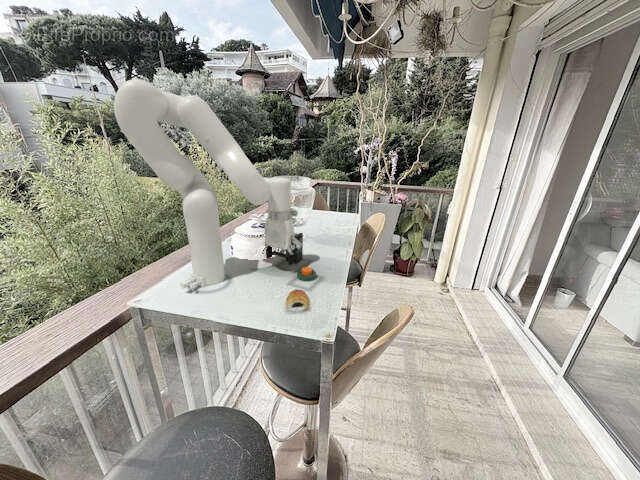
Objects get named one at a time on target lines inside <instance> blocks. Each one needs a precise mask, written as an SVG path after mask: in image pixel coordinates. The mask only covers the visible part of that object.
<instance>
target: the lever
mask: <svg viewBox="0 0 640 480" xmlns="http://www.w3.org/2000/svg"><path fill="white" fill-rule="evenodd" d="M297 234H298V233H296V232H294V236H295V235H297ZM286 250H287V249H286ZM286 250H284V249H280V250H279V251H276V250H273V252H272V255H273V256H276V257H280V258H284V259H286V258H287V257H288V254H286Z"/></svg>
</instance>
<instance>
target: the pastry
mask: <svg viewBox="0 0 640 480" xmlns="http://www.w3.org/2000/svg"><path fill="white" fill-rule="evenodd" d="M309 306H310V298H309V296H308V295H307V293H306V292H305V290H302V289H297V288H296V289H293V290H292V291H290V292H289V293H288V295H287V297H286V308H288V309H294V308H298V307H299V308H300V307H302V308H304V309H303V311H306V310H307V309H308V308H309Z"/></svg>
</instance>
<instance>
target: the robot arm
mask: <svg viewBox="0 0 640 480" xmlns="http://www.w3.org/2000/svg"><path fill="white" fill-rule="evenodd" d="M113 111H114V116H115V120H116V122H117V124H118V126H119V129H120V131H121V132H122V133H123V134H124V136H125V138H126V139H127V140H128V142H129V143H130V144H131V145H132V146H133V147H134V149H135V150H136V151H137V153H138V154H139V155H140V156H141V158H142V159H143V161H144V162H146V164H147V165H148V166H149V168H151V170H152V171H153V172H154V174H155V175H156V177H158V179H159V180H160V181H161V183H163V185H165V186H166V187H168V188H169V189H172V190H176V192H178V193H179V195H180V196H181V198H183V199H182V214H183V219H184V223H185V229H186V235H187V241H188V247H189V255H190V260H191V268H192V273H190V274H189V275H190V277H188V279H187V280H185V281H182V282H180V283H179V286H180V288H181V289H185V288H188V287H189V288H190V289H192V290H193V291H196V292H198V290H197V289H194V288H195V287H197V286H198V287H200V288H205V287H209V286H214V285H218V284H220V283H222V282H224V280H225V278H226V272H225V263H224V253H223V243H222V234H221V225H220V214H219V213H220V212H219V200H218V195H217V193H216V190H215V189H214V187H212V185H211V184H210V182H209V181H208V180H207V178H206V177H205V175H204V174H203V173H202V171H201V170H200V169H199V167H198V166H197V165H196V163H195V162H194V161H193V160H192V159H191V158H190V157H188V156H187V155H185V154H183V153H181V152H180V150H178V149H177V147H176V145H174V143H173V142H172V141H171V139H170V137H169V136H168V134H167V133H166V132H165V131H164V130H163V128H162V127H161V126H160V124H159V123H158V122H160V123H163V124H168V125H171V126H176V127H179V128H185V129H187V130H188V131H189V133H190V134H191V135H192V137H194V139H195V140H196V141H197V142H198V143H199V144H200V146H201V147H202V148H203V149H204V150H205V152H206V153H207V154H208V155H209V157H210V158H211V159H212V160H213V161H214V162H215V164H216V165H217V167H219V168H220V169H221V170H222V171H223V172H224V173H225V174H226V176H227V177H228V179H229V180H230V181H232V183H233V185H235V186H236V188H237V189H238V190H239V191H240V192H241V194H242V195H243V196H244V197H245V198H246V199H247V201H248V202H249V203H251V204H253V205H256V206H261V205H264V204H266V203H267V209H266V210H265V212H266V213H267V214H268V216H267V217H266V220H265V224H264V225H265V226H264V232H263V233H264V234H265V246H266V248H267V249H266V248H265V258H266V259H267V260H269V259H271V258H273V257H272V247H273V248H277V249H280V250H282V249H284V250H286V249H287V250H288V252H289V253H290V254H289V255H288V262H287V263H288V266H291V265H293V264H294V262H295V253H296V252H297V251H298V250H299V249H300V247H301V246H302V243H301V242H300V241H298V240H297V239H296V238H295V237H294V233H295V226H294V221H293V219H292V210H291V209H292V201H291V200H292V199H291V198H292V196H291V195H292V194H291V193H292V191H291V190H292V184H291V180H290V179H289V178H288V177H286V176H285V177H284V176H272V177H265V176H262V175H261V173H260V172H259V171H258V169H257V168H256V167H255V165H253V163H252V162H251V160H250V159H249V158H248V157H247V155H246V154H245V152H244V150H243V149H242V148H241V146H240V144H239V143H238V142H237V140H236V139H235V138H234V137H233V136H232V134H231V133H230V132H229V130H228V129H227V128H226V126H225V125H224V123H223V122H222V121H221V120H220V119H219V117H218V116H217V114H216V113H215V112H214V111H213V110H212V107H210V106H209V104H208V103H207V102H206V101H205V100H204V99H203V98H202V97H200V96H197V95H186V96H183V95H179V94H175V93H172V92H168V91H165V90H162V89H159V88H157V87H156V86H154V84H152V83H150V82H148V81H147V80H143V79H139V78H132V79H129V80H125V82H123V83H121V85H120V86H119V88H118V89H117V91H116V93H115V97H114V101H113ZM294 244H296V248H295V247H294ZM271 246H272V247H271ZM290 247H291V248H290ZM291 249H292V250H291Z"/></svg>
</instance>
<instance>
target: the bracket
mask: <svg viewBox="0 0 640 480" xmlns="http://www.w3.org/2000/svg"><path fill="white" fill-rule="evenodd" d="M296 234H297V235H295V236H294V237H295V238H296V239H297V240H298V241H300V242H301V243H302V246H301V247H300V249H299V250H298V251H297V252H296V253H295V262H294V263H293V264H294V265H297V264H299V263H301V262H303V253H304V251H303V250H304V249H303V247H304V246H303V245H304V242H303V241H304V240H303V239H304V233H303V232H299V233H296ZM294 247H295V248H296V244H294ZM290 248H291V247H290ZM291 250H292V249H291ZM285 254H288V255H289V254H290V253H289V252H288V250H286V251H285ZM285 262H287V263H288V257H287V258H285Z"/></svg>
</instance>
